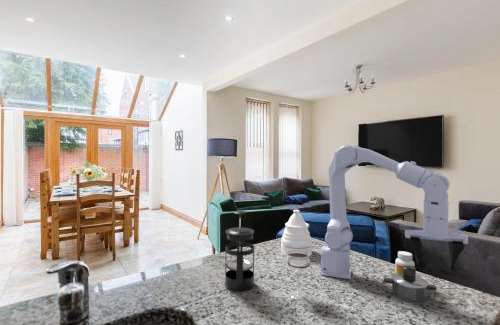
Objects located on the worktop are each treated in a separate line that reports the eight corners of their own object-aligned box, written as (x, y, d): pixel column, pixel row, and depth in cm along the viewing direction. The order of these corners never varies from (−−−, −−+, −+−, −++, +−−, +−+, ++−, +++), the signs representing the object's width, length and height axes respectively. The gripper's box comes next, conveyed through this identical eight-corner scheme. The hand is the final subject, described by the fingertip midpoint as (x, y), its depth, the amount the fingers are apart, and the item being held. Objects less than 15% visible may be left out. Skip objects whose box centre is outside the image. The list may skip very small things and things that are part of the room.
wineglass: (290, 287, 84) (290, 248, 84) (312, 292, 81) (312, 252, 81) (282, 297, 78) (283, 255, 78) (306, 303, 75) (306, 259, 75)
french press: (225, 277, 91) (225, 208, 91) (253, 277, 91) (254, 208, 91) (223, 295, 79) (223, 215, 79) (255, 294, 80) (256, 215, 79)
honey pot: (311, 258, 108) (312, 213, 108) (279, 255, 111) (279, 211, 111) (312, 248, 121) (312, 207, 121) (282, 245, 124) (283, 206, 124)
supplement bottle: (417, 288, 84) (417, 256, 84) (398, 286, 85) (398, 255, 85) (410, 280, 89) (411, 251, 89) (392, 279, 91) (393, 249, 90)
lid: (393, 285, 77) (393, 271, 77) (390, 273, 85) (390, 260, 85) (431, 291, 74) (431, 276, 74) (423, 278, 82) (424, 264, 82)
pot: (384, 297, 78) (385, 283, 78) (382, 284, 86) (382, 272, 86) (439, 307, 74) (439, 292, 73) (431, 292, 82) (431, 279, 81)
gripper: (408, 217, 75) (407, 267, 76) (473, 222, 70) (471, 275, 70) (404, 213, 82) (403, 258, 82) (463, 217, 77) (462, 265, 77)
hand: (434, 265), depth 77 cm, fingers open, 7 cm apart
